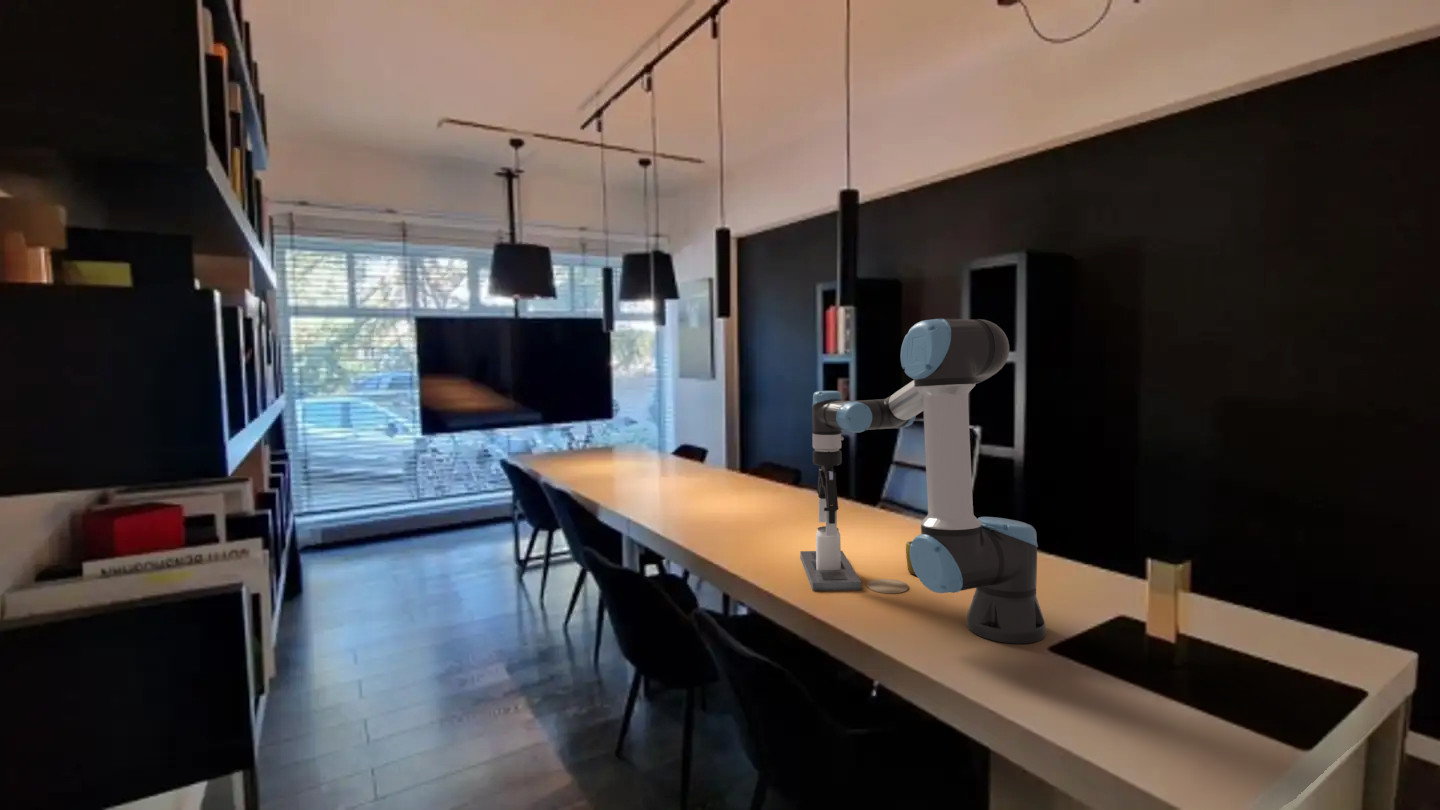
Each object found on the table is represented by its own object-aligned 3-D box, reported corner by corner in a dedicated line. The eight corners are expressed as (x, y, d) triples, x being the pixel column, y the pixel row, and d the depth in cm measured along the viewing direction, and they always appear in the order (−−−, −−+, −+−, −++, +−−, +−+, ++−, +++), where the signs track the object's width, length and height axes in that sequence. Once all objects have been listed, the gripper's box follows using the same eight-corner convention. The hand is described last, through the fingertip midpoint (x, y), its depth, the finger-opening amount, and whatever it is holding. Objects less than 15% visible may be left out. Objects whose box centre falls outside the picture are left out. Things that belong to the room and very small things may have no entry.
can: (812, 574, 183) (812, 530, 182) (821, 568, 189) (820, 524, 188) (836, 578, 180) (835, 532, 179) (843, 571, 186) (843, 527, 185)
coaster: (913, 593, 167) (913, 591, 167) (871, 594, 168) (871, 592, 167) (902, 580, 177) (902, 578, 177) (863, 580, 177) (863, 579, 177)
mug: (940, 575, 174) (931, 536, 177) (903, 581, 180) (895, 542, 183) (958, 573, 184) (950, 535, 186) (923, 578, 190) (915, 541, 192)
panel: (861, 590, 171) (861, 581, 170) (812, 590, 171) (812, 582, 171) (842, 557, 198) (842, 550, 198) (800, 558, 199) (800, 550, 198)
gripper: (849, 456, 170) (849, 541, 172) (834, 442, 195) (834, 516, 196) (819, 457, 170) (819, 541, 172) (807, 443, 195) (807, 517, 197)
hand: (827, 528), depth 184 cm, fingers open, 13 cm apart
